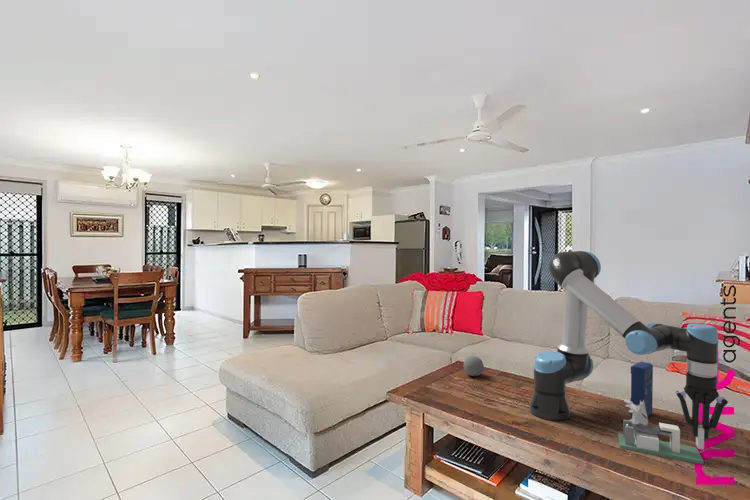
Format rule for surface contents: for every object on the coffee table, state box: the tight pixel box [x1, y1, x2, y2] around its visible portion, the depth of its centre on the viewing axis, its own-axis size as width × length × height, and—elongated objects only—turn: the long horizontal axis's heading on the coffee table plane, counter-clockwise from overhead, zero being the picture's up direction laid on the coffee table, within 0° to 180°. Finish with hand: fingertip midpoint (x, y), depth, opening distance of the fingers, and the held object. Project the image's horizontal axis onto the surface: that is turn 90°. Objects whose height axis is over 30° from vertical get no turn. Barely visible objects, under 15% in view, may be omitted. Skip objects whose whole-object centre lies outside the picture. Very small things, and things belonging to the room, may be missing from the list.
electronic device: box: [629, 361, 654, 419], centre depth 156 cm, size 10×5×20 cm, turn 127°
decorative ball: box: [463, 355, 485, 377], centre depth 203 cm, size 10×10×10 cm
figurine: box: [623, 398, 649, 426], centre depth 144 cm, size 11×8×12 cm
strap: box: [625, 422, 671, 437], centre depth 132 cm, size 12×4×2 cm, turn 63°
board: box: [617, 419, 705, 465], centre depth 131 cm, size 22×9×7 cm, turn 63°
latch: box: [658, 422, 681, 453], centre depth 129 cm, size 5×4×7 cm
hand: (699, 446), depth 126 cm, fingers closed
